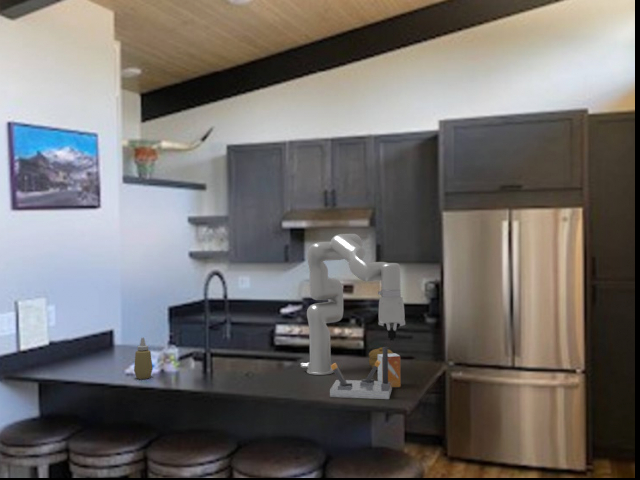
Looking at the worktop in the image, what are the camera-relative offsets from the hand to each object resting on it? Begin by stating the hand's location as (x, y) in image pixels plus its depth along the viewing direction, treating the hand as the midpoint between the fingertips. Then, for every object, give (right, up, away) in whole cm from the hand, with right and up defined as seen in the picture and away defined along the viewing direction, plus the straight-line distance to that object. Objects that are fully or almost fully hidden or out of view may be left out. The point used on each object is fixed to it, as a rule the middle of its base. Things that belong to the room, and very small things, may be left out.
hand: (392, 339), depth 262 cm
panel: (-12, -21, +1) cm, 25 cm away
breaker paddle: (-10, -17, +3) cm, 20 cm away
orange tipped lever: (-19, -18, -3) cm, 26 cm away
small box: (0, -21, +11) cm, 24 cm away
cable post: (-3, -18, -6) cm, 20 cm away
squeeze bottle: (-108, -22, +32) cm, 115 cm away
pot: (0, -20, +43) cm, 48 cm away
